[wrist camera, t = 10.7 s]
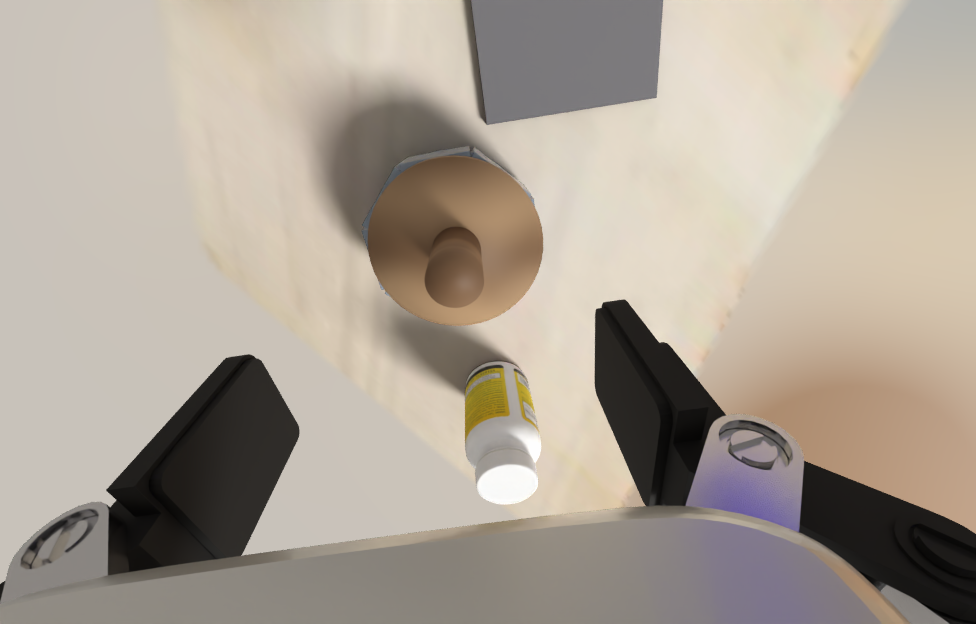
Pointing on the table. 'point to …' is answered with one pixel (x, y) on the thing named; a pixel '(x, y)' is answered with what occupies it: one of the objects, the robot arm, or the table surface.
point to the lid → (455, 240)
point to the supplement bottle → (501, 433)
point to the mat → (565, 54)
